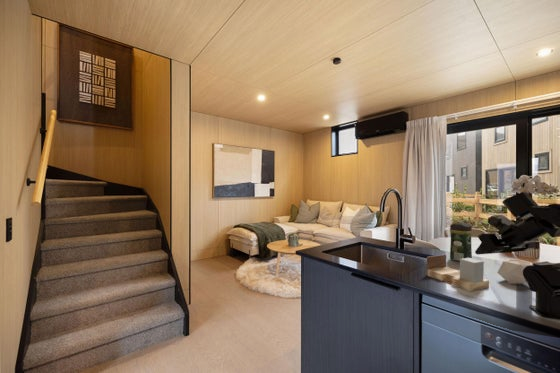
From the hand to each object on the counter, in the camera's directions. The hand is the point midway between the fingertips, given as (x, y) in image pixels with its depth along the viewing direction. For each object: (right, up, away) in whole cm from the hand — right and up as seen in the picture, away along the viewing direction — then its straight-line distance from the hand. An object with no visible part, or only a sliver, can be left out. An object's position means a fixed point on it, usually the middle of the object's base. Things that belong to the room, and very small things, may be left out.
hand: (485, 252), depth 89 cm
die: (+16, -13, +7) cm, 22 cm away
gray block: (-3, -11, +3) cm, 11 cm away
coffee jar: (+16, -13, +35) cm, 41 cm away
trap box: (-5, -13, +8) cm, 16 cm away
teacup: (+27, -13, +15) cm, 34 cm away
